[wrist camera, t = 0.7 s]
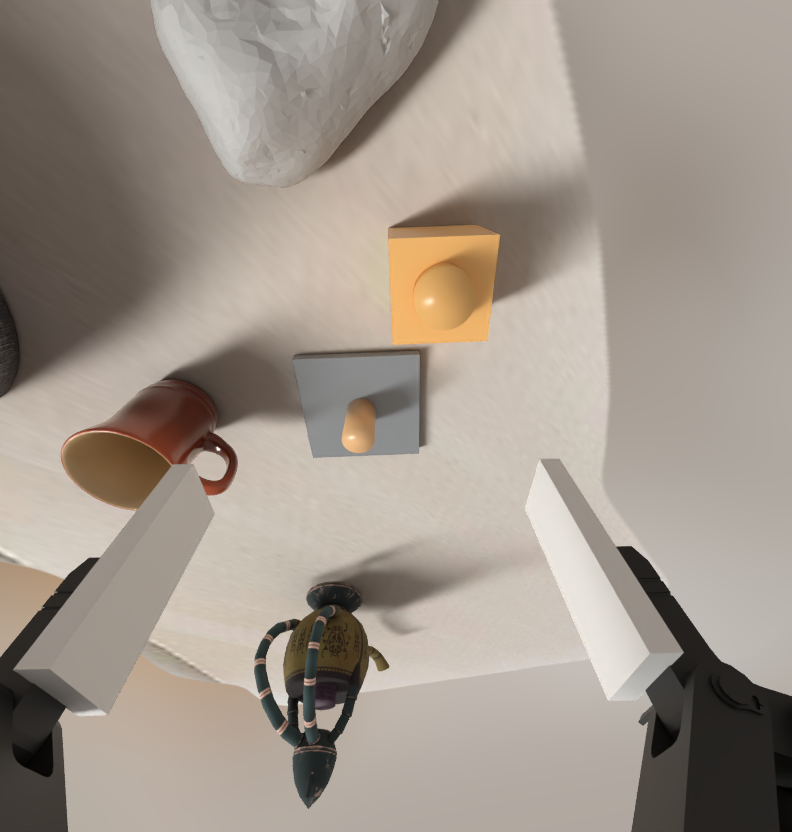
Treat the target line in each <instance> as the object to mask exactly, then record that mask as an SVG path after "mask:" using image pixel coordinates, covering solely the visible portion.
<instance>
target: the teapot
mask: <svg viewBox="0 0 792 832" xmlns="http://www.w3.org/2000/svg"><path fill="white" fill-rule="evenodd" d="M306 600H307V603H308V605H309V606H310V607H311V608H312V609H313V610H314V612H312V613H311V614H309V615H308V616H306V617H305V618H304V619H303V620H302V621H300V620H297V619H292V620H288V621H285V622H281V623H277V624H276V625H275V626H273V627H272V628H271V629H270V630H269V631H268V632H267V634H266V635H265V637H264V638H263V640H262V641H261V643H260V645H259V647H258V650H257V653H256V655H255V667H254V673H255V678H256V684H257V688H258V692H259V695H260V699H261V702H262V706H263V708H264V710H265V712H266V714H267V716H268V718H269V720H270V721H271V723H272V725H273V727H274V728H275V730H276V731H277V732H278V733H279V734H280V736H281V737H282V738H283V739H284V740H285V741H287V742H288V743H289V744H291V745H292V746H293V747H294V749H295V750H294V752H293V773H294V780H295V785H296V788H297V790H298V793H299V796H300V798H301V799H302V801H303V802H304V803H305V805H306V806H307V808H308V809H309V807H311V805H312V804H313V803H314V802H315V801H316V800H317V799H318V798H319V797H320V795H321V794H322V792H323V791H324V789H325V787H326V786H327V784H328V782H329V779H330V777H331V774H332V772H333V769H334V765H335V762H336V755H337V751H336V748H335V745H334V742H335V741H336V739H337V738H338V737H339V735H340V734H342V733H343V731H344V728H345V726H346V724H347V722H348V720H349V718H350V717H351V716H352V712H353V708H354V704H355V701H356V700H357V695H358V693H359V691H360V689H361V686H362V684H363V681H364V678H365V676H366V672H367V669H368V664H369V656H370V657H371V658H373V660H374V661H375V663H376V666H377V669H378V671H383V670H386V669H388V668H389V665H388V663H387V661H386V660H385V658H384V657H383V655H382V654H381V653H380V652H379V651H378V650H376V649H375V648H374V647H372V646H368V640H367V635H366V633H365V631H364V628H363V626H362V624H361V623H360V622H359V621H358V620H357V619H356V618H355V617H354V616H353V615H352V614H351V613H352V612H353V611H355V610H356V609H357V608H358V607H359V606H360V605H361V603H362V594H361V592H360V591H359V590H358V589H357V588H355V587H353V586H352V585H349V584H346V583H341V582H325V583H321V584H318V585H316V586H314V587H312V588H311V589H310V590H309V591H308V593H307V598H306ZM289 630H293V632H292V634H291V636H290V639H289V642H288V645H287V647H286V652H285V657H284V664H283V668H284V680H285V687H286V692H287V693H288V695H289V698H288V712H287V715H288V721H287V720H286V719H285V717H284V716H283V715H282V713H281V711H280V709H279V707H278V705H277V704H276V702H275V700H274V698H273V694H272V691H271V688H270V685H269V681H268V677H267V672H266V654H267V651H268V649H269V646H270V644H271V643H272V641H273V640H274V639H275V638H276V637H277V636H278V635H279V634H280V633H283V632H286V631H289ZM298 701H300V702H302V703H303V713H304V714H303V716H304V727H305V732H304V733H301V732H300V730H299V728H298ZM341 703H344V707H343V710H342V715H341V716H340V718H339V720H338V721H337V723H336V725H335V728H334V729H333V730H332V731H331V732H330V731H328V730H325V729H318V728H317V724H316V713H315V709H317V710H327V709H331V708H333V707H335V704H341Z"/></svg>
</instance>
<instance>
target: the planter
mask: <svg viewBox="0 0 792 832" xmlns="http://www.w3.org/2000/svg"><path fill="white" fill-rule="evenodd" d="M17 366H18V342H17V337H16V332H15V329H14V325H13V322H12V319H11V317H10V314H9V312H8V309H7V307H6V305H5V303H4V301H3V299H2V297H1V295H0V396H1V395H3V394H4V393H5V391H6V390H7V389H8V388H9V386H10V385H11V383H12V381H13V379H14V377H15V374H16V371H17Z"/></svg>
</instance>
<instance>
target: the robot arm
mask: <svg viewBox="0 0 792 832" xmlns="http://www.w3.org/2000/svg"><path fill="white" fill-rule="evenodd" d="M525 510H526V512H527V515H528V517H529V519H530V522H531V524H532V526H533V529H534V531H535V533H536V535H537V538H538V540H539V542H540V545H541V547H542V549H543V552H544V554H545V556H546V558H547V561H548V563H549V565H550V568H551V570H552V572H553V575H554V577H555V579H556V582H557V584H558V586H559V588H560V591H561V593H562V595H563V598H564V600H565V602H566V605H567V607H568V609H569V612H570V614H571V616H572V618H573V621H574V623H575V625H576V628H577V630H578V632H579V635H580V637H581V639H582V641H583V644H584V646H585V648H586V651H587V653H588V655H589V658H590V660H591V662H592V665H593V667H594V669H595V671H596V674H597V676H598V678H599V680H600V683H601V685H602V688H603V690H604V692H605V694H606V697H607V699H608V701H625V700H637V699H638V698H639V697H640V696H641V695H642V694H643V693H644V692H645V691H646V692H647V694H648V696H649V698H650V700H651V702H652V704H653V705H652V706H651V707H650V708H649V709H648V710H647V711H646V712H645V713H643V714H642V716H641V718H640V720H639V723H640V724H642V725H644V724H646V723H647V722H648V728H647V734H646V741H645V747H644V754H643V760H642V766H641V773H640V780H639V786H638V792H637V799H636V805H635V812H634V818H633V825H632V831H631V832H792V696H789V695H786V694H782V693H779V692H776V691H773V690H770V689H767V688H764V687H761V686H758V685H756V684H753V683H752V682H751V681H750V680H749V679H748V678H747V677H746V676H745V675H744V674H742V673H741V672H739V671H738V670H736V669H735V668H734V667H732V666H731V665H728V664H725V663H723V662H721V661H720V660H719V659H718V658H717V656H716V655H715V654H714V653H713V651H712V650H711V649H710V648H709V646H708V645H707V643H706V642H705V640H704V639H703V638H702V636H701V635H700V633H699V632H698V631H697V629H696V628H695V626H694V625H693V623H692V622H691V621H690V619H689V618H688V616H687V615H686V614H685V612H684V611H683V609H682V608H681V606H680V605H679V604H678V602H677V601H676V599H675V598H674V597H673V596H671V594H670V591H669V589H668V588H667V587H666V585H665V584H664V582H663V581H661V580H660V577H659V575H658V574H657V572H656V571H655V570H654V568H653V567H652V565H651V564H650V563H649V561H648V560H647V559H646V558H644V557H643V556H642V555H641V554H640V553H639V552H637V551H636V550H635V549H634V548H633V547H632V546H621V547H616V546H615V545H614V543H613V541H612V540H611V538H610V537H609V535H608V534H607V532H606V531H605V529H604V527H603V526H602V524H601V523H600V521H599V520H598V518H597V517H596V515H595V513H594V512H593V510H592V509H591V507H590V506H589V504H588V503H587V501H586V499H585V498H584V496H583V495H582V493H581V492H580V490H579V489H578V487H577V485H576V484H575V482H574V481H573V479H572V478H571V476H570V475H569V473H568V471H567V470H566V468H565V467H564V465H563V464H562V462H561V461H560V459H539V463H538V466H537V469H536V473H535V476H534V480H533V483H532V486H531V490H530V493H529V496H528V500H527V503H526V507H525ZM213 516H214V511H213V509H212V507H211V504H210V502H209V500H208V497H207V495H206V492H205V490H204V488H203V485H202V483H201V481H200V478H199V476H198V473H197V471H196V469H195V466H194V464H173V465H172V466H171V468H170V469H169V470H168V471H167V473H166V474H165V475H164V477H163V478H162V479H161V480H160V482H159V483H158V484H157V486H156V487H155V488H154V489H153V491H152V492H151V493H150V495H149V496H148V497H147V498H146V500H145V501H144V502H143V504H142V505H141V506H140V507H139V509H138V510H137V511H136V513H135V514H134V515H133V516H132V518H131V519H130V520H129V522H128V523H127V524H126V525H125V527H124V528H123V529H122V531H121V532H120V533H119V534H118V536H117V537H116V538H115V540H114V541H113V542H112V543H111V545H110V546H109V547H108V548H107V550H106V551H105V552H104V554H103V555H102V556H101V557H100V558H88V559H87V560H86V561H85V562H83V563H82V564H81V565H80V566H78V567H77V568H76V569H75V570H73V571H72V572H71V573H70V574H69V575H68V576H67V577H66V578H65V580H64V581H63V582H62V583H61V584H60V586H59V587H58V588H57V589H56V591H55V594H54V595H53V596H51V597H50V598H49V599H48V600H47V601H46V603H45V604H44V605H43V606H42V610H41V611H38V612H37V614H36V615H35V616H34V617H33V618H32V620H31V621H30V622H29V623H28V624H27V626H26V627H25V628H24V629H23V630H22V632H21V633H20V634H19V636H17V638H16V639H15V640H14V641H13V643H12V644H11V645H10V646H9V648H8V649H7V650H6V651H5V652H4V653H3V655H2V656H1V657H0V832H68V826H67V809H66V793H65V774H64V757H63V740H62V728H61V726H60V723H59V722H58V720H59V718H60V716H61V715H62V713H63V711H64V710H65V708H67V709H69V710H70V711H72V712H73V713H74V714H76V715H77V716H96V715H108V714H109V712H110V710H111V708H112V706H113V704H114V703H115V701H116V699H117V697H118V695H119V693H120V691H121V689H122V687H123V686H124V684H125V682H126V680H127V678H128V676H129V674H130V672H131V671H132V669H133V667H134V665H135V663H136V661H137V659H138V657H139V656H140V654H141V652H142V650H143V648H144V646H145V644H146V642H147V640H148V639H149V637H150V635H151V633H152V631H153V629H154V627H155V625H156V624H157V622H158V620H159V618H160V616H161V614H162V612H163V610H164V608H165V607H166V605H167V603H168V601H169V599H170V597H171V595H172V593H173V592H174V590H175V588H176V586H177V584H178V582H179V580H180V578H181V576H182V575H183V573H184V571H185V569H186V567H187V565H188V563H189V561H190V560H191V558H192V556H193V554H194V552H195V550H196V548H197V546H198V544H199V543H200V541H201V539H202V537H203V535H204V533H205V531H206V529H207V527H208V526H209V524H210V522H211V520H212V518H213Z"/></svg>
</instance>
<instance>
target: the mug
mask: <svg viewBox="0 0 792 832" xmlns="http://www.w3.org/2000/svg"><path fill="white" fill-rule="evenodd" d="M217 420H218V412H217V409H216V407H215V405H214V403H213V401H212V400H211V399H210V397H209V396H208V395H207V394H206V393H205V392H203V391H202V390H201V389H199V388H198V387H196V386H194V385H192V384H190V383H187V382H184V381H179V380H163V381H160V382H157V383H155V384H152V385H150V386H148V387H147V388H145V389H143V390H141V391H140V392H138V393H137V394H136V396H135V397H134V398H132V399H131V400H130V401H129V402H128V403H126V404H125V405H124V406H123V407H122V408H121V409H120V410H119V411H118V412H117V413H116V414H115V415H114V416H112V417H111V418H110V419H108V420H107V421H105V422H103V423H101V424H98V425H96V426H93V427H90V428H88V429H85V430H82V431H80V432H77V433H76V434H74V435H72V436H71V437H69V438H68V439H67V440H66V442H65V443H64V445H63V447H62V450H61V461H62V464H63V467H64V469H65V471H66V473H67V474H68V476H69V477H70V478H71V479H72V480H73V481H74V483H75V484H77V485H78V486H79V487H80V488H81V489H82V490H84V491H85V492H87V493H88V494H90V495H91V496H93V497H95V498H96V499H98V500H100V501H102V502H105V503H107V504H110V505H113V506H116V507H119V508H123V509H128V510H135V511H137V510H138V509H139V507H140V506H141V505H142V504H143V502H144V501H145V500H146V498H147V497H148V496H149V495H150V493H151V492H152V491H153V489H154V488H155V487H156V486H157V484H158V483H159V482H160V480H161V479H162V478H163V477H164V475H165V474H166V473H167V471H168V470H169V469H170V468H171V466H172V465H173V464H191V463H192V462H193V460H194V459H195V458H196V457H197V456H198V455H199V454H200V453H201V452H203V451H209V452H213V453H216V454H218V455H220V456H221V457H222V458H223V459H224V460H225V462H226V464H227V470H226V473H225V475H224V477H223V478H222V479H220V480H218V481H211V480H207V479H204V478H202V477H200V476H199V478H200V481H201V483H202V485H203V488H204V490H205V492H206V495H218V494H221V493H223V492H224V491H226V490H227V489H228V488H229V486H230V485H231V483H232V482H233V480H234V477H235V475H236V471H237V467H238V460H237V456H236V453H235V451H234V450H233V448H232V447H231V446H230V445H229V444H227V443H226V442H225V441H224V440H223V439H222V438H221V437H219V436H218V435H216V434H214V433H213V432H214V430H215V428H216V424H217Z"/></svg>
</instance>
